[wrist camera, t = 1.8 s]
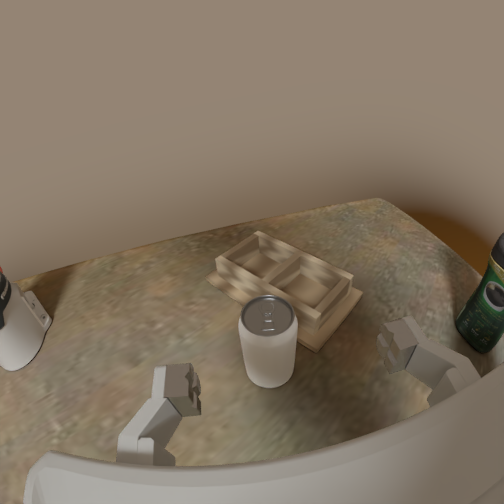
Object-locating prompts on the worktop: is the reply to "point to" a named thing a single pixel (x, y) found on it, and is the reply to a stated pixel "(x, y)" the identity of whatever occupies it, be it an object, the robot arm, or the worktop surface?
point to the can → (268, 340)
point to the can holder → (288, 284)
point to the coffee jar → (486, 305)
